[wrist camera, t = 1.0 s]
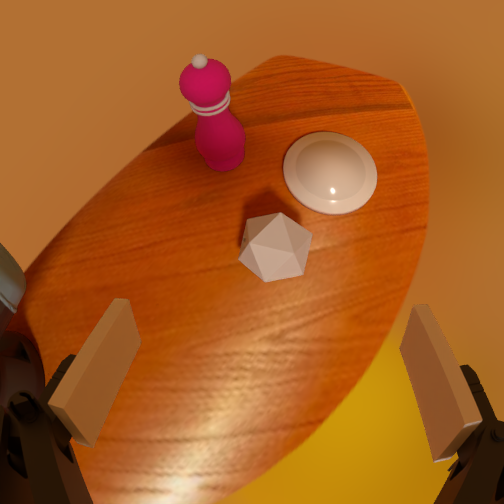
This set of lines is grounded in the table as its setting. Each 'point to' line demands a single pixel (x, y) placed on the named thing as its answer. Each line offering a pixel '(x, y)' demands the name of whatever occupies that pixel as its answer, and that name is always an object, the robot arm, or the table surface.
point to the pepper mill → (213, 113)
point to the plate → (330, 173)
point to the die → (275, 247)
